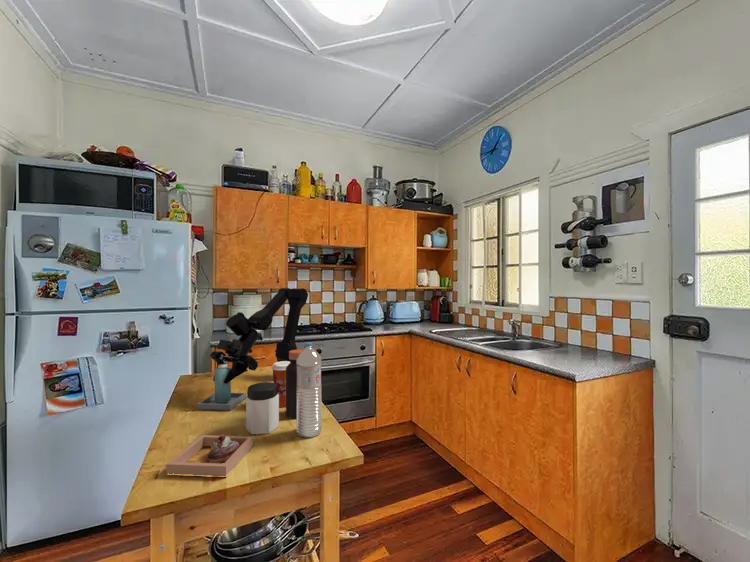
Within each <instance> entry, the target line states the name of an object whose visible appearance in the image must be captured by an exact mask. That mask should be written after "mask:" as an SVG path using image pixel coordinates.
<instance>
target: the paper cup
mask: <svg viewBox="0 0 750 562" xmlns="http://www.w3.org/2000/svg"><path fill="white" fill-rule="evenodd" d="M289 364H290V361H281V362H278V361H277V362H274V363H273V364H272V366H271V369H272V376H273V377H272V378H273V380H272V381H273V383H275V384H277V394H278V395H279V409H280V408H282V409H283V408H286V367H287V366H288V365H289Z"/></svg>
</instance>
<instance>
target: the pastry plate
mask: <svg viewBox="0 0 750 562" xmlns="http://www.w3.org/2000/svg"><path fill="white" fill-rule="evenodd" d="M220 436H221V435H212V434H211V435H210V434H209V435H207V434H202V435H201V436H200V437H198V438H197V439H195V440H194V441H193V442H191V444H189V445H188V446H187V447H185V448H184V449H183V450H182V451H180V452H179V453H178V454H177V455H176V456H175V457H173V458H172V459H171V460H170V461H168V462H167V463H166V464H165V465H166V466H165V473H166V474H168V473H169V474H173V473H174V474H193V475H213V476H226V475H227V474H228V473H229V472H230V471H231V470H232V469H233V468H234V467H235V466H236V465H237V464H238V462H239V461H240V460H241V459H242V458H243V457H244V458H245V457H246V455H247V454H248V453H249V452H248V451H249V450H250V451H251V449H252V448H253V447H254V436H243V435H225V436H226V437H229V438H230V440H231V441H237V442H238V443H240V444H241V446H240V447H239V448H238V449H237V450H236V451H235V452H234V453H233V455H232V456H231V457H230V458H229V459H228V460H227V461H226V462H225V463H224V464H218V463H209V462H188V461H189V460H191V459H192V458H193V457H194V456H195V455H196V454H197V453H199V452H200V451H201V450H202V449H203V448H204V447H203V446H212V445H213V443H214V442H215V440H216V439H217V438H219V437H220ZM252 446H253V447H252ZM202 447H203V448H202ZM201 448H202V449H201ZM200 449H201V450H200ZM199 450H200V451H199ZM198 451H199V452H198ZM247 452H248V453H247ZM195 453H196V454H195ZM246 453H247V454H246ZM194 454H195V455H194ZM245 454H246V455H245ZM193 455H194V456H193ZM192 456H193V457H192ZM191 457H192V458H191ZM190 458H191V459H190ZM244 458H243V459H244ZM188 459H189V460H188ZM243 459H242V460H243ZM187 460H188V461H187ZM242 460H241V461H242ZM186 461H187V462H186ZM241 461H240V462H241ZM240 462H239V463H240ZM238 465H239V464H238ZM238 465H237V466H238ZM237 466H236V467H237ZM236 467H235V468H236ZM235 468H234V469H235ZM234 469H233V470H234ZM166 474H165V475H166Z"/></svg>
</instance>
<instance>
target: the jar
mask: <svg viewBox="0 0 750 562" xmlns="http://www.w3.org/2000/svg"><path fill="white" fill-rule="evenodd" d="M246 392H247V393H246V399H245V400H246V401H245V409H246V410H245V418H246V419H245V420H246V421H245V428H246V430H247V432H249V434H250V435H252V436H253V434H256V435H268V434H271V433H272V432H273V431H275V430H276V429H277V428H279V427H280V407H279V395H278V394H277V384H275V383H274V382H271V381H270V382H269V381H267V382H266V381H265V382H264V381H263V382H262V381H261V382H258V383H257V382H256V383H254V384H250V385H249V386H248V387H247V391H246Z"/></svg>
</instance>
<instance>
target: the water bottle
mask: <svg viewBox="0 0 750 562" xmlns="http://www.w3.org/2000/svg"><path fill="white" fill-rule="evenodd" d="M302 350H303V351H302V352H301V353H300V354H299V355H298V357H297V359H296V364H297V387H296V393H297V394H296V396H297V397H296V403H297V404H296V406H297V407H296V416H297V417H296V427H295V428H296V429H295V430H296V434H297V436H299V437H301V438H305V439H309V438H314V437H317V436H318V435H320V434H321V432H322V356H321V354H320V353H319V352H318V351H317V350H316V349H314V348H313V342H310V341H307V342H305V348H304V349H302Z"/></svg>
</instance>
